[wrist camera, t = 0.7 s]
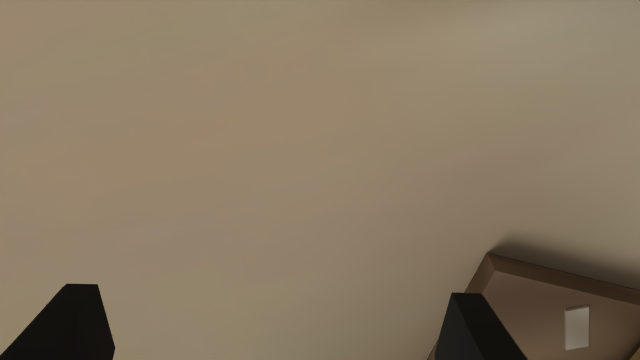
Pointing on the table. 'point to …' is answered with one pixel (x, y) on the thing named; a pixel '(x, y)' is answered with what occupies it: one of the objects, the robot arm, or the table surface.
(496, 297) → the board
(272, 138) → the table surface
